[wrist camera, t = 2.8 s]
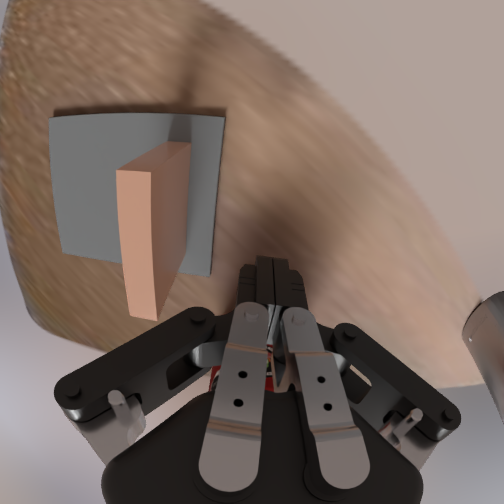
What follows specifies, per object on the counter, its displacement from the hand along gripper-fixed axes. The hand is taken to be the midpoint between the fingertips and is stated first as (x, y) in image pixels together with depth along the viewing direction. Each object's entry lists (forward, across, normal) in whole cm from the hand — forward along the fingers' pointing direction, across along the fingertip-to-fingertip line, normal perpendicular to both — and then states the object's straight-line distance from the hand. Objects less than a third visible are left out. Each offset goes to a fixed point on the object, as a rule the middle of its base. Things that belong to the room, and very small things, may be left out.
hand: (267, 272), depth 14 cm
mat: (+9, +11, 0) cm, 14 cm away
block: (+8, +7, 0) cm, 11 cm away
